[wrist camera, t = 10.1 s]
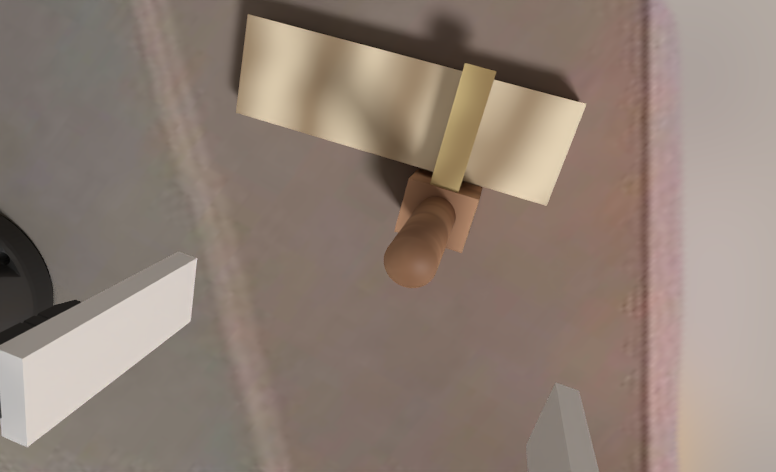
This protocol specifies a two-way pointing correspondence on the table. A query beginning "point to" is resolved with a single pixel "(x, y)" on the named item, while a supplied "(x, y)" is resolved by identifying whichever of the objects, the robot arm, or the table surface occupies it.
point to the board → (401, 107)
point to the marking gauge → (441, 191)
